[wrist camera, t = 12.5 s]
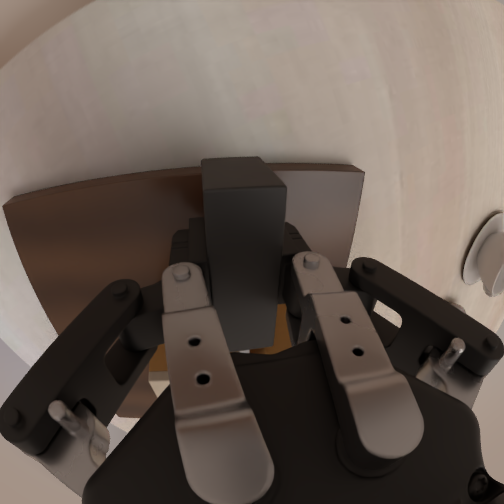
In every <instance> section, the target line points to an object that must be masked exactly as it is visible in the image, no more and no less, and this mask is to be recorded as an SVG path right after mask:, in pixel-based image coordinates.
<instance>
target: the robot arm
mask: <svg viewBox="0 0 504 504" xmlns="http://www.w3.org/2000/svg"><path fill="white" fill-rule="evenodd" d="M161 278H162V280H160V281H159V282H157V283H155V284H152V285H149V286H146V287H143V288H140V285H139V284H138V283H137V282H136V281H134V280H132V279H120V280H116V281H114V282H112V283H110V284H109V285H107V286H106V287H105V288H104V289H103V290H102V291H101V292H100V293H99V294H98V295H97V296H96V297H95V298H94V299H93V300H92V301H91V302H90V303H89V304H88V305H87V306H86V307H85V308H84V309H83V310H82V311H81V312H80V314H79V315H78V316H77V317H76V318H75V319H74V320H73V321H72V322H71V323H70V324H69V325H68V326H67V327H66V329H65V330H64V331H63V332H62V333H61V334H60V335H59V336H58V337H57V339H56V340H55V341H54V342H53V343H52V344H51V345H50V346H49V348H48V349H47V350H46V351H45V352H44V353H43V355H42V356H41V357H40V358H39V359H38V360H37V362H36V363H35V364H34V365H33V366H32V368H31V369H30V370H29V371H28V373H27V374H26V375H25V377H24V378H23V379H22V380H21V381H20V383H19V384H18V385H17V387H16V388H15V389H14V390H13V392H12V393H11V394H10V396H9V397H8V398H7V400H6V401H5V402H4V404H3V405H2V407H1V408H0V433H1V434H2V436H3V437H4V438H5V439H6V440H7V441H9V442H10V443H12V444H13V445H15V446H16V447H18V448H19V449H21V450H22V452H24V453H25V454H26V455H28V456H30V457H31V458H33V459H34V460H36V461H38V462H40V463H41V464H42V465H43V466H44V467H45V468H46V469H47V470H49V471H50V472H51V473H52V474H53V475H54V476H55V477H56V478H58V479H59V480H60V481H61V482H62V483H64V484H65V485H66V486H67V487H68V488H70V489H71V490H72V491H74V492H75V493H76V494H77V495H79V496H80V497H82V504H504V484H502V483H500V482H498V481H496V480H494V479H493V478H492V477H490V476H489V474H488V473H487V471H486V469H485V467H484V463H483V458H482V452H481V443H480V428H479V424H478V420H477V418H476V416H475V414H474V413H473V411H472V410H471V409H472V407H473V404H474V402H475V399H476V397H477V395H478V392H479V390H480V387H481V384H482V382H483V379H484V378H485V377H486V376H487V375H488V373H489V372H490V371H491V370H492V369H493V368H494V366H495V365H496V364H497V363H498V362H499V360H500V359H501V358H502V357H503V355H504V345H503V343H502V341H501V339H500V338H499V337H498V336H497V335H496V334H495V333H494V332H492V331H491V330H489V329H488V328H487V327H485V326H484V325H482V324H481V323H479V322H478V321H476V320H475V319H473V318H471V317H470V316H468V315H467V314H465V313H464V312H462V311H461V310H459V309H458V308H456V307H454V306H453V305H451V304H450V303H448V302H446V301H445V300H443V299H442V298H440V297H438V296H437V295H435V294H433V293H432V292H430V291H429V290H427V289H425V288H424V287H422V286H420V285H419V284H417V283H415V282H414V281H412V280H410V279H408V278H407V277H405V276H403V275H402V274H400V273H398V272H396V271H395V270H393V269H391V268H389V267H388V266H386V265H384V264H382V263H381V262H379V261H377V260H375V259H372V258H367V257H360V258H356V259H354V260H353V261H352V264H351V268H342V267H334V266H332V265H331V263H330V261H329V260H328V258H326V257H325V256H324V255H322V254H319V253H316V252H312V251H311V249H310V248H309V246H308V245H307V243H306V242H305V240H304V239H303V237H302V236H301V234H299V231H298V230H297V229H296V227H295V226H293V225H292V224H290V223H288V222H285V229H284V241H283V253H282V265H281V276H280V287H279V297H278V304H286V307H287V308H286V315H285V317H286V322H287V327H288V331H289V336H290V341H291V346H292V347H291V348H288V349H286V350H283V351H281V352H278V353H275V354H254V353H241V352H232V353H230V352H229V349H228V346H227V343H226V340H225V337H224V334H223V330H222V327H221V324H220V321H219V318H218V315H217V311H216V308H215V306H214V305H212V300H211V290H210V280H209V270H208V259H207V247H206V235H205V221H204V217H196V218H189V229H183V230H177V232H176V233H175V234H174V235H173V236H172V244H171V251H170V259H169V267H167V268H166V269H165V270H164V271H163V273H162V277H161ZM377 300H379V301H380V302H382V303H383V304H385V305H386V306H388V307H389V308H391V309H393V310H394V311H396V312H397V313H398V314H399V315H400V316H401V318H402V325H401V327H400V328H398V327H397V326H395V325H394V324H392V323H391V322H389V321H388V320H386V319H385V318H383V317H382V316H380V315H379V314H377V313H376V312H374V311H373V310H374V307H375V304H376V302H377ZM117 337H119V339H118V340H117V341H116V342H115V344H114V345H113V346H112V347H111V349H110V350H109V351H108V353H107V354H106V352H107V350H108V349H109V348H110V346H111V345H112V344H113V342H114V341H115V340H116V339H117ZM161 344H165V352H166V361H167V368H168V375H169V382H170V384H169V385H168V386H167V387H166V388H165V390H164V391H163V392H162V393H161V394H160V396H159V397H158V398H157V399H156V400H155V402H154V403H153V404H152V405H151V406H150V408H149V409H148V410H147V411H146V412H145V414H144V415H143V416H142V417H141V418H140V420H139V421H138V422H137V423H136V424H135V426H134V427H133V428H132V429H131V430H130V431H129V433H128V434H127V435H126V436H125V437H124V439H123V440H122V441H121V442H120V443H119V445H118V446H117V447H116V448H115V449H114V450H113V451H112V453H111V454H110V455H109V456H108V457H107V458H106V453H107V452H108V449H109V444H110V435H109V431H108V430H107V426H108V424H109V423H110V421H111V420H112V418H113V417H114V415H115V413H116V412H117V410H118V409H119V407H120V406H121V404H122V403H123V401H124V399H125V398H126V396H127V395H128V393H129V392H130V390H131V389H132V387H133V386H134V384H135V383H136V381H137V379H138V378H139V376H140V375H141V373H142V372H143V370H144V369H145V367H146V366H147V364H148V363H149V361H150V360H151V358H152V357H153V355H154V354H155V352H156V350H157V348H158V345H161Z"/></svg>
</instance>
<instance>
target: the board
mask: <svg viewBox="0 0 504 504" xmlns="http://www.w3.org/2000/svg"><path fill="white" fill-rule="evenodd" d="M265 164H266V165H267V166H268V167H269V168H270V169H271V170H272V171H273V172H274V173H275V174H276V175H277V176H278V177H279V178H280V179H281V180H282V181H283V182H284V184H285V185H286V186H287V202H286V216H285V222H288V223H290V224H292V225H293V226H295V227H296V229H297V230H298V231H299V234H301V236H302V237H303V239H304V240H305V242H306V243H307V245H308V246H309V248H310V249H311V251H312V252H316V253H319V254H322V255H324V256H325V257H326V258H328V260H329V261H330V263H331V265H332V266H334V267H342V268H346V266H347V262H348V258H349V254H350V249H351V245H352V240H353V236H354V231H355V226H356V221H357V216H358V210H359V205H360V199H361V194H362V188H363V182H364V175H365V172H364V171H362V170H360V169H359V168H357V167H355V166H353V165H340V164H310V163H265ZM2 207H3V210H4V214H5V217H6V220H7V224H8V227H9V230H10V233H11V236H12V238H13V241H14V244H15V247H16V249H17V252H18V255H19V257H20V260H21V262H22V264H23V267H24V269H25V272H26V274H27V276H28V278H29V281H30V283H31V285H32V287H33V289H34V291H35V293H36V295H37V297H38V299H39V301H40V303H41V305H42V307H43V309H44V311H45V313H46V314H47V316H48V318H49V320H50V322H51V323H52V325H53V327H54V329H55V330H56V332H57V334H58V335H60V334H61V333H62V332H63V331H64V330H65V329H66V327H67V326H68V325H69V324H70V323H71V322H72V321H73V320H74V319H75V318H76V317H77V316H78V315H79V314H80V312H81V311H82V310H83V309H84V308H85V307H86V306H87V305H88V304H89V303H90V302H91V301H92V300H93V299H94V298H95V297H96V296H97V295H98V294H99V293H100V292H101V291H102V290H103V289H104V288H105V287H106V286H107V285H109V284H110V283H112V282H114V281H116V280H120V279H132V280H134V281H136V282H137V283H138V284H139V285H140V288H143V287H146V286H149V285H152V284H155V283H157V282H159V281H160V280H162V278H161V277H162V273H163V271H164V270H165V269H166V268H167V267H169V259H170V251H171V244H172V236H173V235H174V234H175V233H176V232H177V230H183V229H189V218H196V217H204V207H203V190H202V171H201V166H199V167H186V168H175V169H165V170H156V171H147V172H139V173H131V174H124V175H117V176H111V177H104V178H98V179H92V180H87V181H81V182H76V183H71V184H66V185H61V186H56V187H52V188H47V189H43V190H39V191H34V192H30V193H26V194H22V195H19V196H15V197H13V198H12V199H10V200H9V201H8V202H6V203H5V204H4V205H3V206H2ZM118 339H119V337H117V339H116V340H115V341H114V342H113V344H112V345H111V346H110V348H109V349H108V350H107V352H106V354H107V353H108V351H109V350H110V349H111V347H112V346H113V345H114V344H115V342H116V341H117V340H118ZM149 362H150V361H149ZM156 399H157V396H156V394H155V392H154V391H153V389H152V387H151V385H150V383H149V363H148V364H147V366H146V367H145V369H144V370H143V372H142V373H141V375H140V376H139V378H138V379H137V381H136V383H135V384H134V386H133V387H132V389H131V390H130V392H129V393H128V395H127V396H126V398H125V399H124V401H123V403H122V404H121V406H120V407H119V409H118V410H117V412H116V414H117V415H118V416H119V417H127V418H141V417H142V416H143V415H144V414H145V412H146V411H147V410H148V409H149V408H150V406H151V405H152V404H153V403H154V402H155V400H156Z"/></svg>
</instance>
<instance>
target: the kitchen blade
mask: <svg viewBox="0 0 504 504" xmlns="http://www.w3.org/2000/svg"><path fill="white" fill-rule="evenodd" d="M201 171H202V190H203V207H204V221H205V235H206V247H207V259H208V270H209V280H210V290H211V300H212V305H214V306H215V308H216V311H217V315H218V318H219V321H220V324H221V327H222V330H223V334H224V337H225V340H226V343H227V346H228V349H229V352H241V353H250V350H251V349H258V348H265V347H272V346H273V344H274V336H275V326H276V317H277V307H278V297H279V287H280V276H281V265H282V253H283V241H284V229H285V216H286V202H287V186H286V185H285V184H284V182H283V181H282V180H281V179H280V178H279V177H278V176H277V175H276V174H275V173H274V172H273V171H272V170H271V169H270V168H269V167H268V166H267V165H266V164H265V163H264V162H263V161H262V159H261V158H260V157H228V158H210V159H202V160H201Z"/></svg>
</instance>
